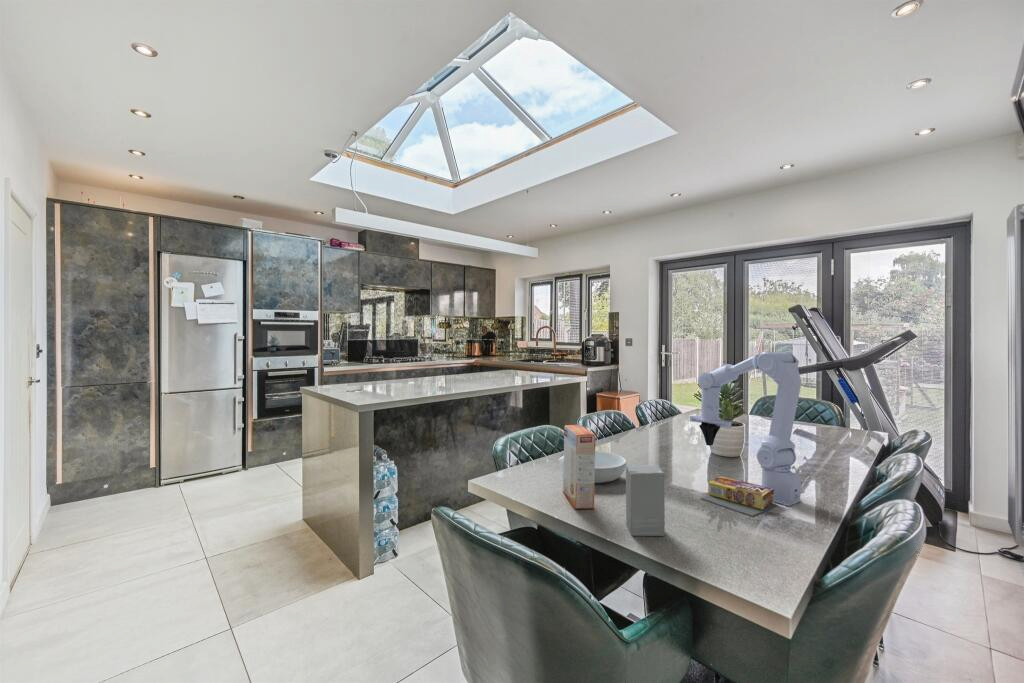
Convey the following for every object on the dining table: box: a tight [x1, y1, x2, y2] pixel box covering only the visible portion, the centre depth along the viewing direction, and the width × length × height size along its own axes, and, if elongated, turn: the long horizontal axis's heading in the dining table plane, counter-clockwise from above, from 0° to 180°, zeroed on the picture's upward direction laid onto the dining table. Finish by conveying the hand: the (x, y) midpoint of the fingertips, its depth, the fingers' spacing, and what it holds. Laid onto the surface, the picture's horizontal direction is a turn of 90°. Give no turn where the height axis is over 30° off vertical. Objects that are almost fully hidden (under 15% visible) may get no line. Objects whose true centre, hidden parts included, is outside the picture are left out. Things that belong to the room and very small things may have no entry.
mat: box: [700, 495, 779, 517], centre depth 126 cm, size 15×14×1 cm
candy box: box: [707, 476, 775, 510], centre depth 128 cm, size 9×4×15 cm
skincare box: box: [625, 464, 666, 537], centre depth 106 cm, size 8×7×16 cm
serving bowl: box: [562, 450, 627, 484], centre depth 146 cm, size 21×21×7 cm
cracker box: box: [562, 424, 596, 510], centre depth 126 cm, size 14×6×21 cm, turn 7°
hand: (709, 444), depth 152 cm, fingers closed
